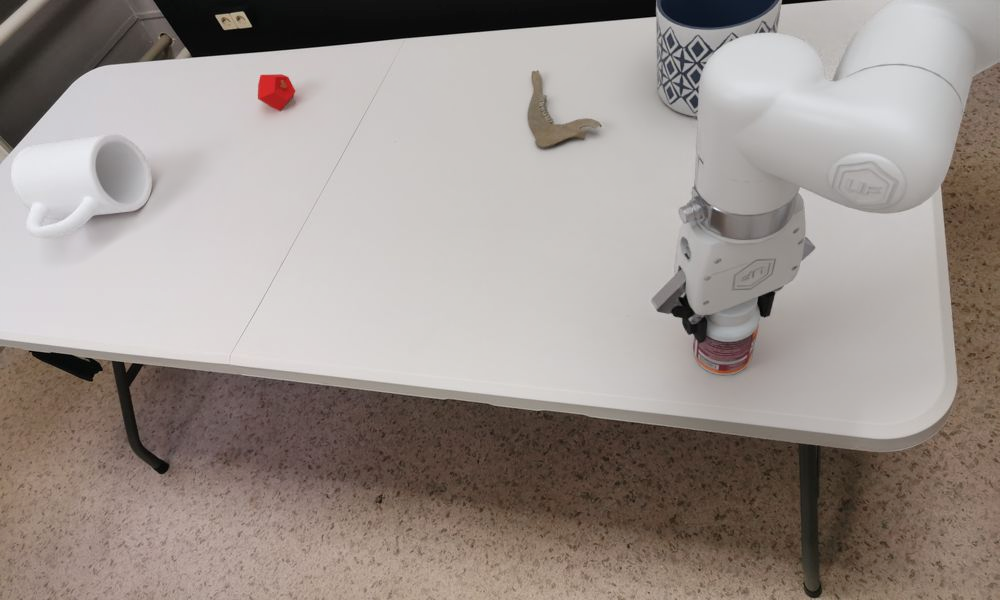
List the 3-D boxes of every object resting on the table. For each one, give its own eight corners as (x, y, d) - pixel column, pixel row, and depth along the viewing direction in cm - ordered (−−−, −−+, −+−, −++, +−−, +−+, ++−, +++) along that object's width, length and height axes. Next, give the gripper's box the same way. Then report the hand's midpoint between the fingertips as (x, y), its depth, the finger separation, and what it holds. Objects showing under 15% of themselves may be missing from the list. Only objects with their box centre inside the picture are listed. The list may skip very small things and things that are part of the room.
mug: (91, 182, 115) (34, 128, 105) (163, 173, 111) (112, 117, 101) (39, 263, 104) (-29, 213, 94) (118, 256, 101) (55, 203, 90)
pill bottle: (760, 370, 66) (775, 312, 57) (702, 382, 66) (708, 327, 57) (739, 323, 69) (750, 261, 60) (685, 335, 70) (687, 276, 61)
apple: (239, 86, 112) (260, 76, 107) (266, 69, 116) (287, 59, 111) (262, 120, 116) (283, 112, 110) (287, 103, 119) (309, 95, 114)
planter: (773, 116, 86) (789, 21, 75) (656, 124, 90) (655, 36, 79) (764, 47, 95) (777, -47, 83) (658, 58, 99) (656, -31, 87)
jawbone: (553, 165, 91) (550, 155, 89) (491, 101, 103) (488, 91, 102) (604, 133, 91) (601, 122, 90) (536, 73, 104) (533, 63, 102)
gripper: (662, 270, 46) (664, 380, 60) (878, 185, 46) (828, 315, 60) (621, 205, 50) (631, 322, 64) (817, 127, 50) (784, 261, 65)
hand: (726, 318), depth 62 cm, fingers closed on pill bottle, 6 cm apart
